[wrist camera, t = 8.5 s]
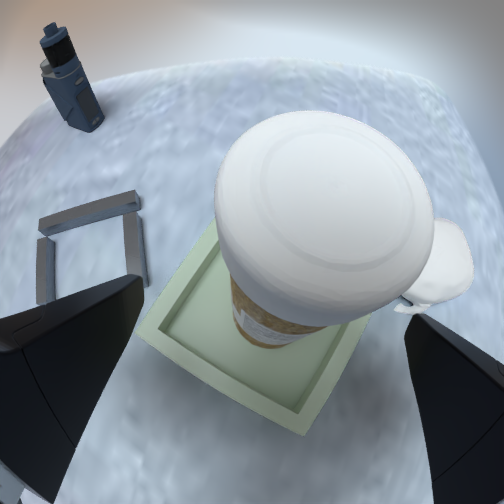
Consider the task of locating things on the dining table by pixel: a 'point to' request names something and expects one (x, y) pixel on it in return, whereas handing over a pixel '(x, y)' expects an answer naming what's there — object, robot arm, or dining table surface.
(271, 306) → the sprinkles bottle
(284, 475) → the dining table surface
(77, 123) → the vaping device
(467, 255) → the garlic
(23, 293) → the dining table surface
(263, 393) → the tray
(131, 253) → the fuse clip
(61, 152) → the dining table surface
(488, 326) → the dining table surface
